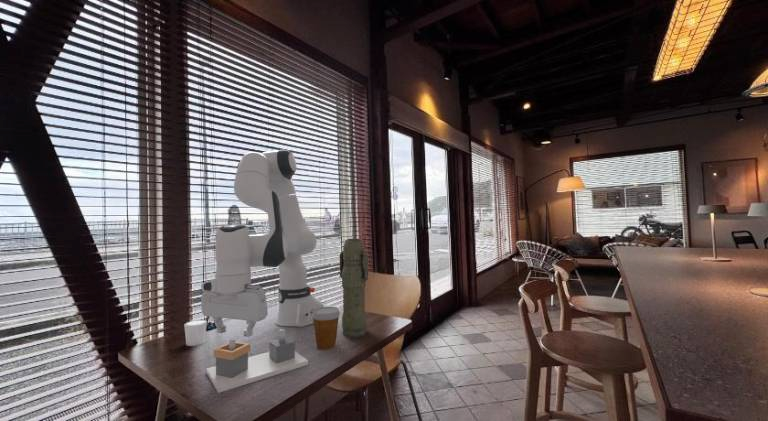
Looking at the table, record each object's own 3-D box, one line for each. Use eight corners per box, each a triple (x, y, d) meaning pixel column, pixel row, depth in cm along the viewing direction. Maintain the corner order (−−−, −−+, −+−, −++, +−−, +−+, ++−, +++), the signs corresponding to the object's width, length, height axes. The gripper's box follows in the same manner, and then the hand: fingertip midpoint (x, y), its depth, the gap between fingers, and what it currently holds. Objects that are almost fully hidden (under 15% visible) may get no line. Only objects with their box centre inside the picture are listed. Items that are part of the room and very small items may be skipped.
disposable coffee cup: (329, 338, 117) (329, 304, 117) (346, 346, 110) (345, 309, 110) (306, 346, 110) (305, 310, 110) (322, 354, 103) (321, 316, 104)
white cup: (196, 347, 111) (196, 326, 111) (179, 345, 112) (179, 325, 112) (211, 339, 117) (211, 320, 118) (194, 338, 119) (194, 319, 119)
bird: (190, 326, 127) (207, 310, 132) (195, 334, 132) (210, 319, 137) (206, 337, 125) (222, 321, 130) (209, 344, 130) (225, 329, 135)
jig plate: (288, 350, 107) (288, 319, 107) (308, 364, 96) (307, 330, 96) (206, 372, 92) (206, 336, 92) (218, 392, 81) (218, 351, 81)
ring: (232, 348, 94) (232, 341, 94) (250, 350, 92) (250, 343, 92) (213, 356, 88) (213, 349, 88) (232, 360, 86) (232, 352, 86)
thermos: (346, 327, 128) (345, 238, 129) (373, 331, 124) (372, 238, 125) (334, 335, 120) (333, 239, 121) (363, 339, 116) (362, 240, 117)
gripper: (272, 283, 90) (273, 334, 89) (215, 279, 97) (216, 326, 96) (256, 288, 84) (257, 342, 84) (196, 284, 91) (197, 334, 91)
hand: (234, 334), depth 90 cm, fingers open, 8 cm apart
